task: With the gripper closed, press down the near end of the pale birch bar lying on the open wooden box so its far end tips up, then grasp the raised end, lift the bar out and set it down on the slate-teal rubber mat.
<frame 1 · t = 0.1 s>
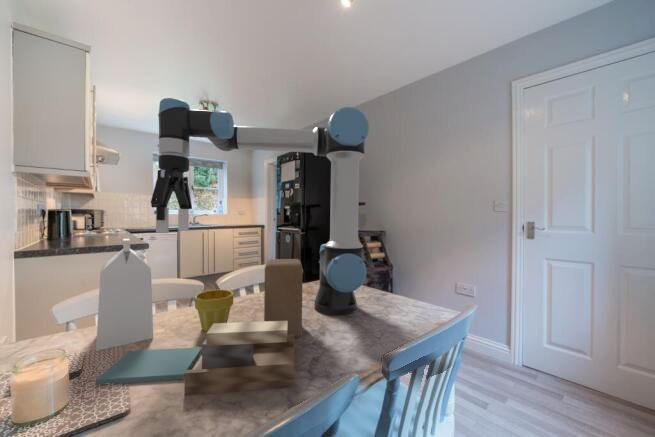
hand: (173, 231, 76), 28 cm above the table, fingers open, 13 cm apart
plant pot: (214, 328, 78), on the table
block: (283, 332, 76), on the table
milk: (125, 336, 72), on the table
open wooden box: (247, 369, 57), on the table
birch bar: (249, 338, 57), point 7 cm above the table, touching open wooden box
slate mat: (154, 366, 58), on the table
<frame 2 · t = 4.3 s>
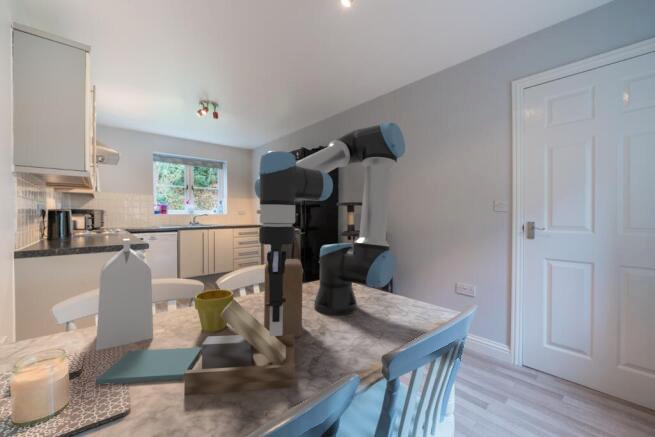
hand: (276, 334, 58), 7 cm above the table, fingers closed
birch bar: (250, 336, 57), point 7 cm above the table, tilted 44°, touching open wooden box
everything else where it was.
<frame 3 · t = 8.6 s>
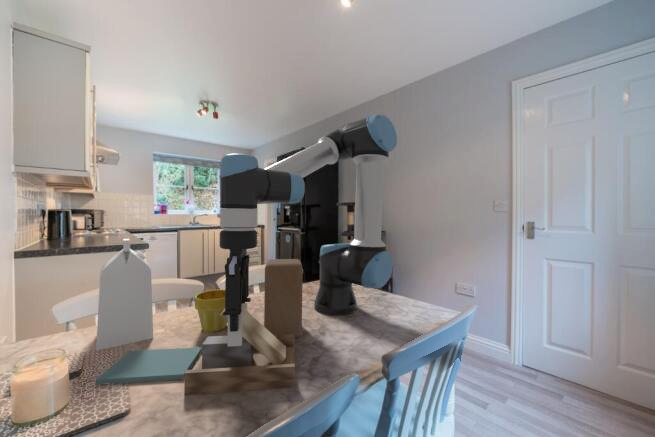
hand: (237, 338, 57), 7 cm above the table, fingers closed on birch bar, 5 cm apart
birch bar: (250, 336, 57), point 7 cm above the table, tilted 44°, touching gripper, open wooden box
everything else where it was.
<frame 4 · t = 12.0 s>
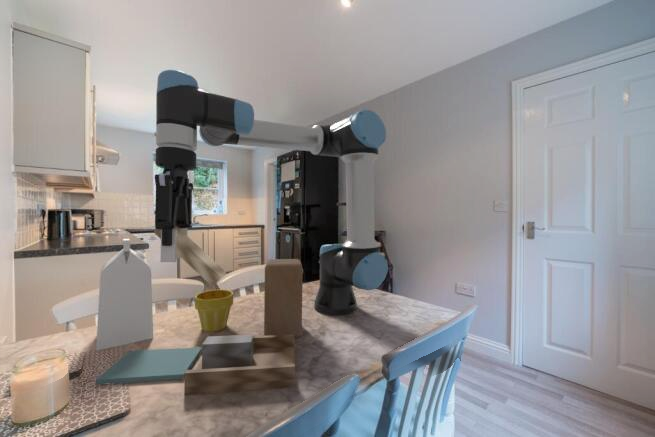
hand: (174, 259, 57), 23 cm above the table, fingers closed on birch bar, 5 cm apart
birch bar: (187, 257, 57), point 24 cm above the table, tilted 45°, touching gripper
everything else where it was.
when the fingers open (8 cm above the table, at t = 15.7 s): birch bar drops 7 cm, resting on slate mat.
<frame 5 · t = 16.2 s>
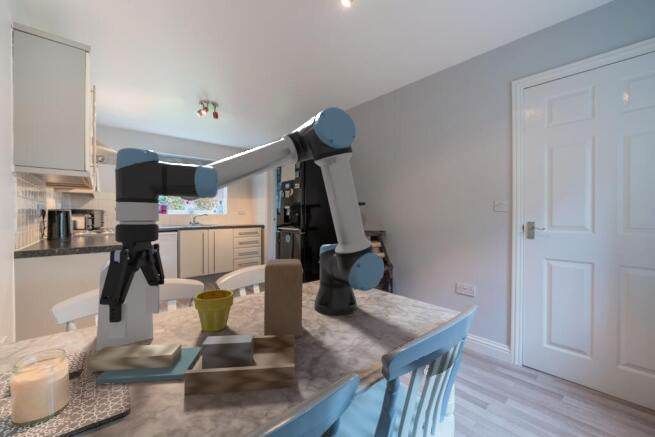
hand: (137, 324, 57), 9 cm above the table, fingers open, 12 cm apart
birch bar: (137, 362, 57), point 1 cm above the table, touching slate mat
everything else where it was.
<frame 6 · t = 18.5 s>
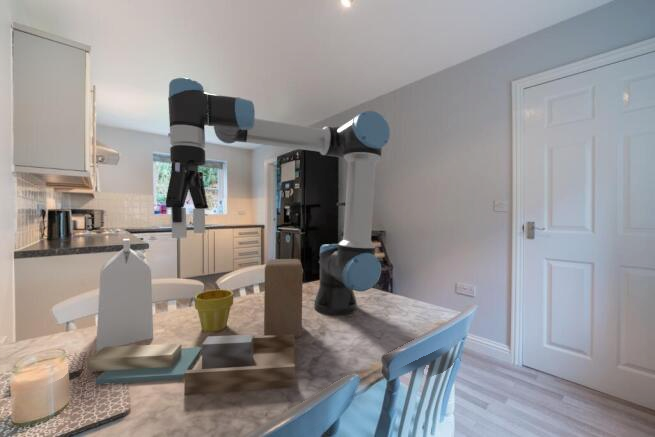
hand: (190, 235, 65), 28 cm above the table, fingers open, 13 cm apart
nothing on the table moved.
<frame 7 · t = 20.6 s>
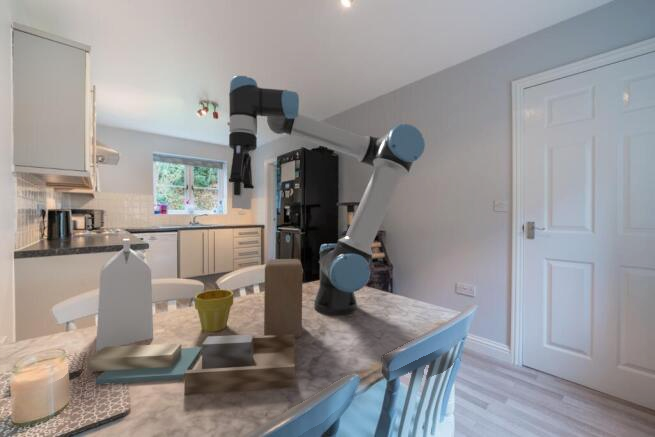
hand: (242, 208, 77), 35 cm above the table, fingers open, 13 cm apart
nothing on the table moved.
at the end: birch bar inside the target area on the slate mat (3.6 cm from its centre), point 1.0 cm above the slate mat's base; birch bar tilted 0°; birch bar touching slate mat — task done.
